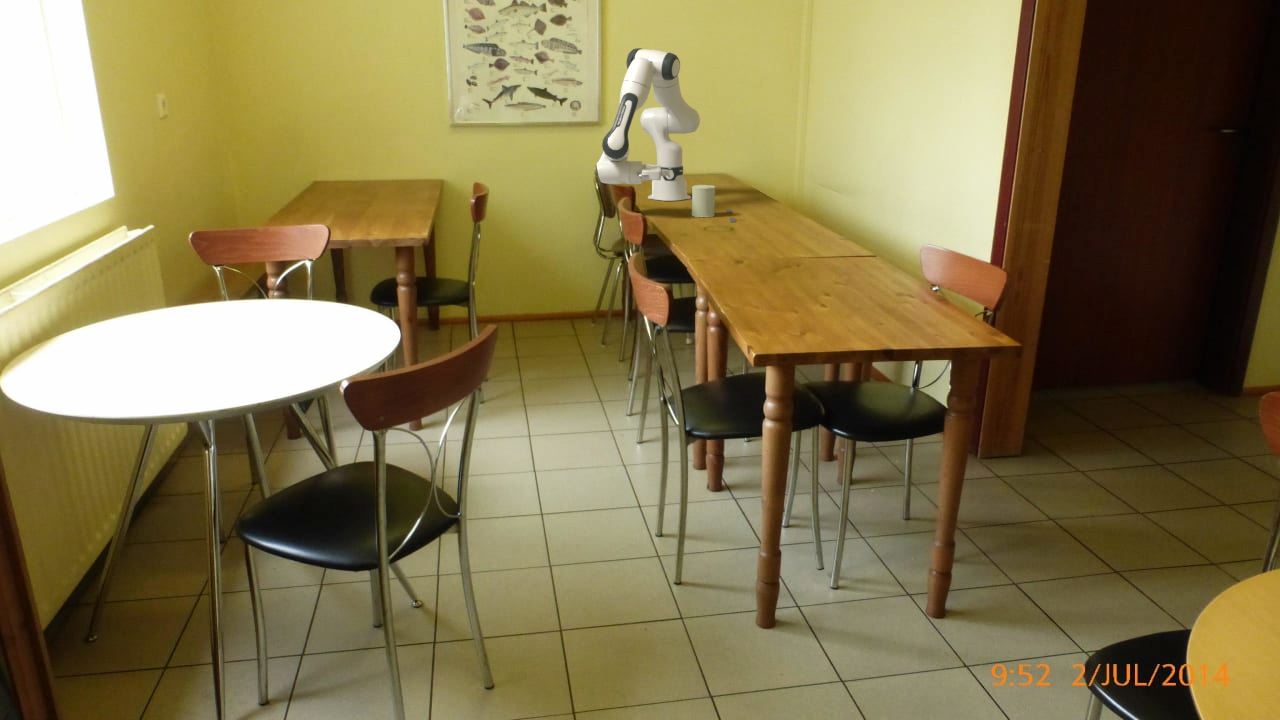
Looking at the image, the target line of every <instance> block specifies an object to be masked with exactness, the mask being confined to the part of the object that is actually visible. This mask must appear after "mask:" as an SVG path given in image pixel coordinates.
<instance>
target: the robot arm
mask: <svg viewBox="0 0 1280 720" xmlns="http://www.w3.org/2000/svg"><path fill="white" fill-rule="evenodd" d="M626 68H627V70H626V72H625V74H624V78H623V81H622V84H621V88H620V93H619V105H618V110H617V113H616V114H615V115H616V116H615V118H614V121H613V125H612V127H611V129H610V130H609V131H608V133H606V134H605V136H604V137H603V139H602V143H601V147H602V151H603V152H602V154H601V156H600V157H599V160H598V161H597V162H596V163H595V172H596V177H597V179H598V181H599V182H601V183H603V184H606V185H608V184H609V185H620V184H627V185H642V183H643V182H646V181H651V194H649V195H648V196H647V199H649V200H655V201H665V202H666V201H671V202H673V201H683V200H692V195H689V194H688V193H687V190H688V188H687V179H686V178H685V177H684V166H683V149H682V147H681V145H680V144H679V143H677V142H676V141H674V140H672V138H671V137H670V135H669V134H673V135H674V134H675V135H676V134H678V135H680V134H681V135H683V134H691V133H695V132H696V131H697V130H698V128H699V126H700V123H701V118H700V115H699V112H698V111H697V110H696V109H695V108H693V107H692V106H690V105H689V103H687V102H686V100H685V99H684V98H683V95H682V93H681V87H680V80H679V73H680V68H681V61H680V58H679V57H678V56H677V55H676V54H675V53H672V52H667V51H663V50H660V49H659V50H658V49H648V48H647V49H645V48H642V47H641V48H640V47H636V48H633V49H631V51H629V53H628V54H627V57H626ZM651 88H652V90H653V92H652V93H653V98H654V100H655V101H656V103H658V105H661V106H653V107H649V108H645V109H644V110H643V111H642V113H640V118H639V122H640V125H641V128H642V130H643V131H644V132H646V133H647V134H648V135H649V136H650V138H651V139H652V141H653V143H654V146H655V151H656V164H651V163H643V161H641V160H628V157H629V154H630V147H629V146H630V145H629V144H630V142H629V130H630V128H631V125H632V122H633V119H634V115H635V114H636V112H638V110H640V109H642V108H643V107H644V106H645V104H646V102H647V99H648V97H649V95H650V91H651Z"/></svg>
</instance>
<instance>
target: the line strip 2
mask: <svg viewBox="0 0 1280 720" xmlns="http://www.w3.org/2000/svg"><path fill="white" fill-rule="evenodd" d="M729 220H731V221H730V223H737V221H736V219H735V217H729Z"/></svg>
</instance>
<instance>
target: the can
mask: <svg viewBox="0 0 1280 720" xmlns="http://www.w3.org/2000/svg"><path fill="white" fill-rule="evenodd" d="M691 189H692V190H691V191H692V192H691V215H692V216H691V217H693V216H694V217H693V218H698V217H710V218H714V217H715V216H716V215H715V202H716V201H715V199H716V198H715V197H716V186H714V185H709V184H696V185H692V186H691ZM713 216H714V217H713Z"/></svg>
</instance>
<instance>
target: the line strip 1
mask: <svg viewBox="0 0 1280 720" xmlns="http://www.w3.org/2000/svg"><path fill="white" fill-rule="evenodd" d="M726 210H727V211H726ZM725 211H726V213H727V214H732V213H733V212H732V209H731V208H726V209H725Z"/></svg>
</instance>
